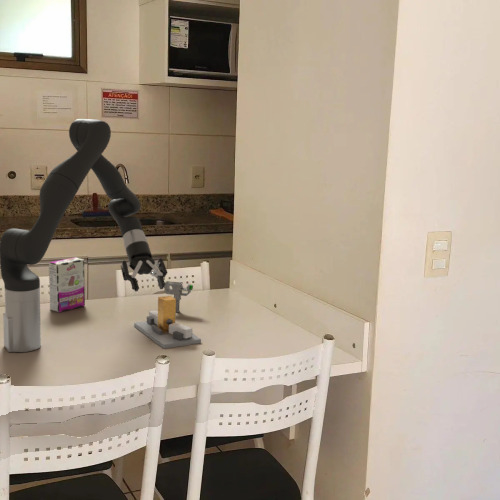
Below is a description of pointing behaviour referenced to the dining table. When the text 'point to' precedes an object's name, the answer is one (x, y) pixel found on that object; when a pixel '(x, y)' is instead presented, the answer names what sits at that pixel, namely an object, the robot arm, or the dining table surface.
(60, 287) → the candy bar box
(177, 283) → the mechanical component
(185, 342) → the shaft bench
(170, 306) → the block
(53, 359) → the dining table surface
